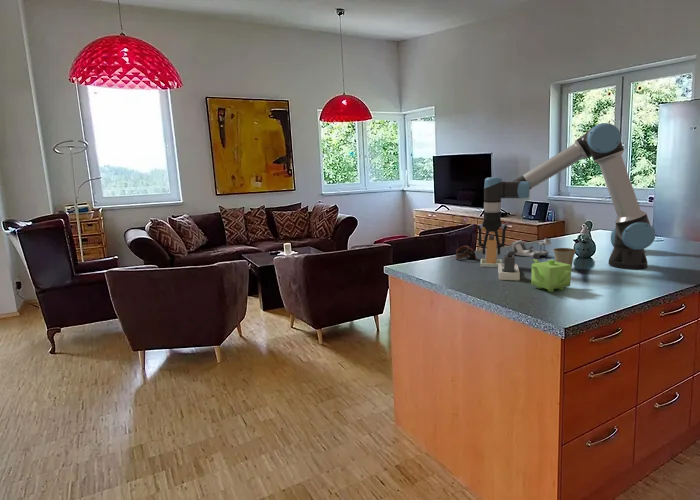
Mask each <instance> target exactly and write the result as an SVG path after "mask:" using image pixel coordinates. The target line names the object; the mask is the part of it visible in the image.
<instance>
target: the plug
mask: <svg viewBox="0 0 700 500" xmlns="http://www.w3.org/2000/svg"><path fill="white" fill-rule="evenodd" d="M486 247H487V263H489V264H496V247H497V241H496V237H495V234H488V238H487V242H486Z"/></svg>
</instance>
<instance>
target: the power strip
mask: <svg viewBox="0 0 700 500" xmlns="http://www.w3.org/2000/svg"><path fill="white" fill-rule="evenodd" d="M511 251H512V250H508V251H507V252H506V254H505V255H504V256H503V262H502V263H498V267H497V269H498V270H497V271H498V280H499V281H503V280H504V281H520V279H521V277H520V276H521V275H520V274H521V273H520V269H519V265H518V263H516V257H515V256H514V255H512V252H511Z"/></svg>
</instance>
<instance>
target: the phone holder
mask: <svg viewBox="0 0 700 500" xmlns="http://www.w3.org/2000/svg"><path fill="white" fill-rule="evenodd" d="M538 245H540V246H543V250H542V247H540V250H539V251H538V250H535V249H533V248H534V247H533V246H532V245H531V246H530V247H529V248H527V247H526V245H525V243H524V242H523V240H521V239H520V240H516V241H514V242H511V250H510V251H511V252H512V255H514V257H515V256H522V257H528V258H529V257H531V258H532V259H534V258H535V259H536V260H539V259H540V257H541V256H548V254H549V251H548V250H547V249H545V248H546V247H545V246H550V245H552V242H551V238H549V239H548V238H547V237H545V238H544V240H543V242H540V241H539V242H538Z"/></svg>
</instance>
